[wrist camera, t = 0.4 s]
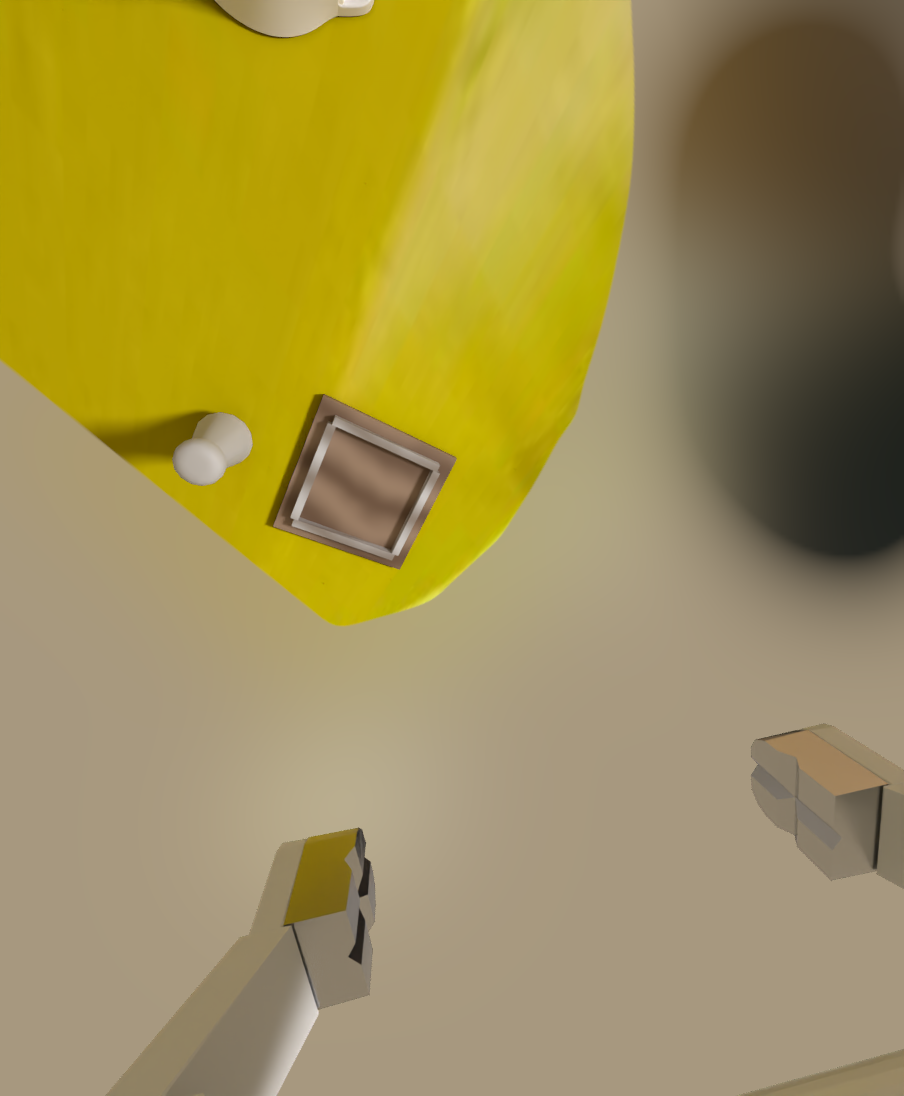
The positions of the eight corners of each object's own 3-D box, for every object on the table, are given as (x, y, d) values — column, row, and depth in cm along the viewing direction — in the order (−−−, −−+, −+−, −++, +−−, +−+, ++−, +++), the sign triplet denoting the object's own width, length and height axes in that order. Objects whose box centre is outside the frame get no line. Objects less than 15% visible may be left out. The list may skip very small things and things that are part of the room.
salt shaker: (230, 468, 52) (198, 508, 41) (190, 429, 49) (143, 461, 38) (267, 438, 51) (244, 471, 40) (228, 398, 48) (192, 420, 37)
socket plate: (323, 393, 50) (323, 396, 48) (455, 456, 57) (458, 461, 55) (274, 523, 56) (271, 530, 54) (398, 566, 63) (400, 573, 61)
